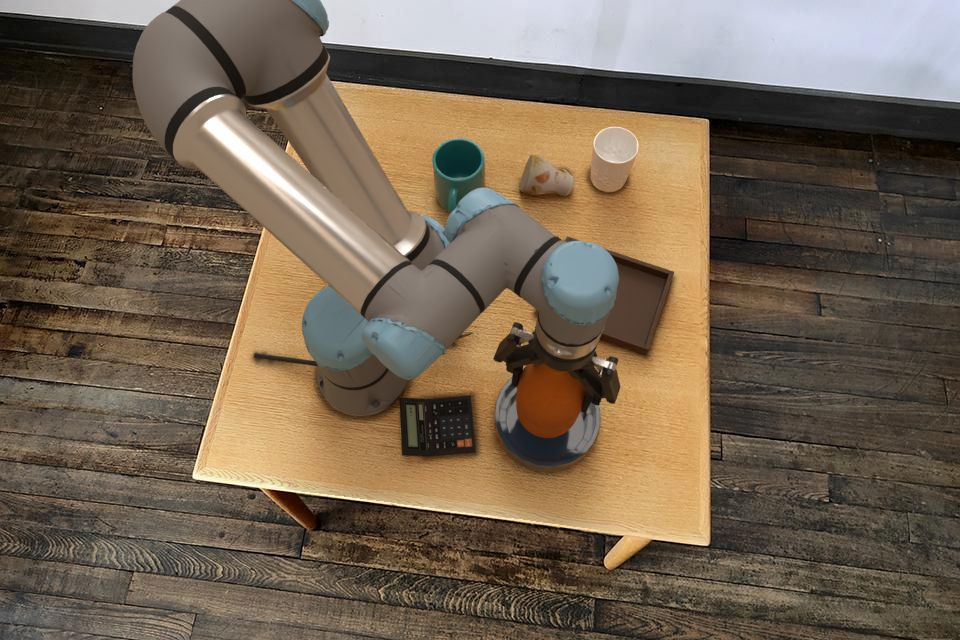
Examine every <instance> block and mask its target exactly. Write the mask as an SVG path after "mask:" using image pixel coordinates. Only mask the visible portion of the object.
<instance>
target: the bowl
mask: <svg viewBox="0 0 960 640" xmlns="http://www.w3.org/2000/svg"><path fill="white" fill-rule="evenodd" d="M511 384H512V376H511V377H510V378H509V379H508V380H507V382H506V383H505V384H504V385H503V387H502V388H501V389H500V392H499V394H498V396H497V399H496V402H495V407H494V431H495V434H496V437H497V441H498V443H499V445H500V447H501V448H502V450H503V451H504V452H505V454H506V456H507V457H508V458H510V459H511V460H512V461H514V462H515V463H516V464H517V465H518V466H520V467H522V468H525V469H528V470H529V471H532V472H534V473H546V474H554V473H558V472H561V471H562V472H563V471H566V470H569V469H570V468H572V467H574V466H575V465H577V464H578V463H579V462H582V460H584V458H585V457H586V455H587V454H588V453H589V452H590V450H591V449H592V448H593V446H594V443H595V441H596V439H597V436H598V434H599V430H600V427H601V408H600V405H599V406H597V405H594V404H592V403H590V405H589V408H588V410H587V412H586V413H584V412H580V414H579V416H578V418H577V420H576V421H575V423H574V424H573V426H572V427H571V428H570V429H569V430H568V431H567V432H566V433H564V434H562V435H560V436H558V437H554V438H542V437H538V436H536V435H533V434H532V433H530V432H529V431H527V430H526V429H525V428H524V427H523V425H522V424H521V422H520V421H519V418H518V415H517V411H516V394H517V387H514V386H511ZM517 385H518V384H517ZM587 393H588V391H587ZM586 396H587V394H586ZM581 410H582V409H581Z"/></svg>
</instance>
